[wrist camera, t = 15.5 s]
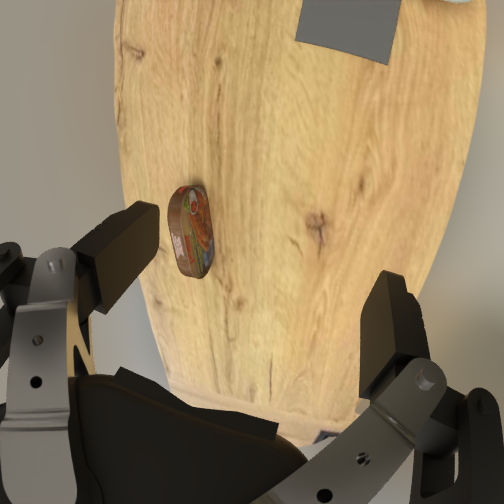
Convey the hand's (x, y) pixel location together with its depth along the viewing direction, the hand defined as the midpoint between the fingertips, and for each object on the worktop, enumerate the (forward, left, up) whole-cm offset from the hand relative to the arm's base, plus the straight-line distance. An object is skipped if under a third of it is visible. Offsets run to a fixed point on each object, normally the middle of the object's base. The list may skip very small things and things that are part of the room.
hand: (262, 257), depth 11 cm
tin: (-14, -20, -33) cm, 41 cm away
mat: (+1, +16, -33) cm, 37 cm away
